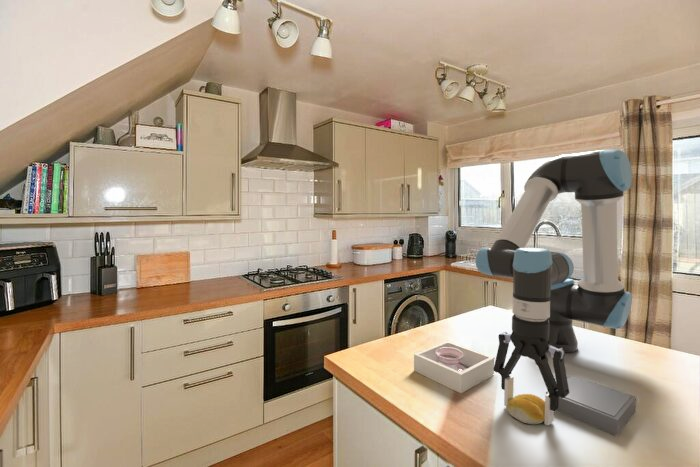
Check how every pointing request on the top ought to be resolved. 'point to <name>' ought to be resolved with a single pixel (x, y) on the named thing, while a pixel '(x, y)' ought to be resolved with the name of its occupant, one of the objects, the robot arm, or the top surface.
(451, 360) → the teacup
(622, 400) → the grey square block
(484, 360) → the white open box
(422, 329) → the top surface
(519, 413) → the bread roll
